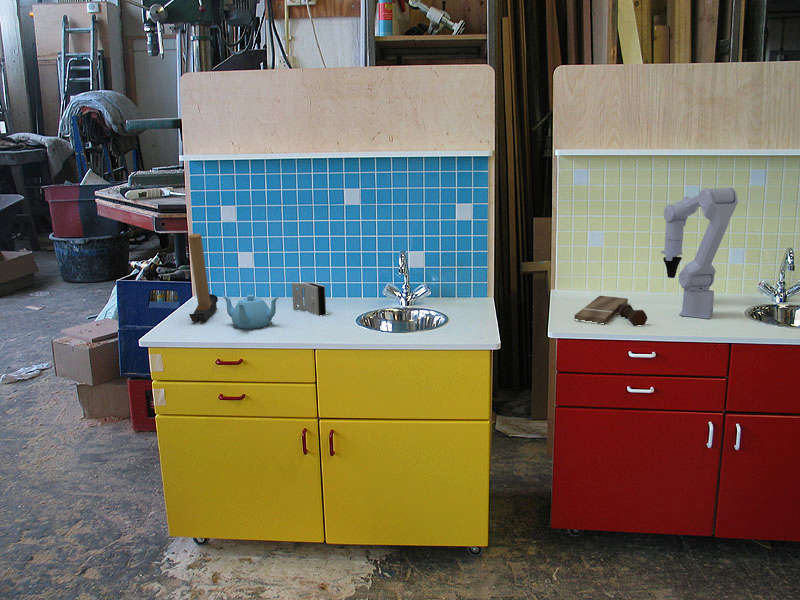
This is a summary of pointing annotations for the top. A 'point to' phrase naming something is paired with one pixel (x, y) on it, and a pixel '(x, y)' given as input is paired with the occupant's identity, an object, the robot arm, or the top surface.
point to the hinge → (309, 297)
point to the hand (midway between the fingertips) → (671, 277)
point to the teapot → (251, 312)
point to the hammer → (201, 281)
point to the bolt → (632, 314)
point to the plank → (601, 309)
